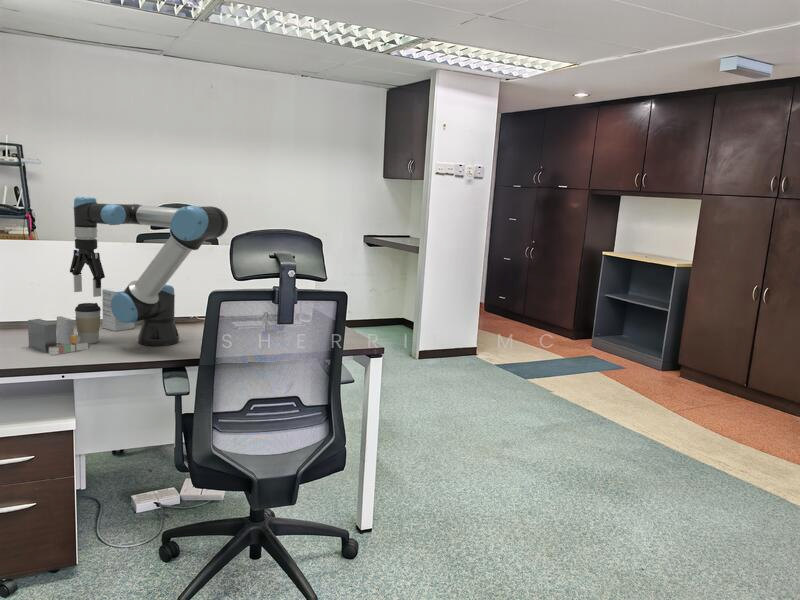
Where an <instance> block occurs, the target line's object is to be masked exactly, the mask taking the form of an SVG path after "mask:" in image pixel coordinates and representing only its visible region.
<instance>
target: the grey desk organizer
mask: <svg viewBox="0 0 800 600" xmlns="http://www.w3.org/2000/svg"><path fill="white" fill-rule="evenodd" d="M27 333H28V334H27V335H28V347H29V348H31V349H34V350H36V351H39V352H42V353H45V354H46V353H48V354H49V355H50V356H54V355H62V354H66V353H68V354H69V353H73V352H79V351H85V350H89V344H88V342H77V343H72V344H58V343H57V323H54V322H51V321H47V320H44V319H42V318H32V319H28V320H27Z"/></svg>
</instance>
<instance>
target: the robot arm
mask: <svg viewBox="0 0 800 600" xmlns="http://www.w3.org/2000/svg"><path fill="white" fill-rule="evenodd" d="M72 208H73V218H74V220H73V221H74V223H73V224H74V231H73V232H74V238H75V239H74V248H75V249H73V256H72V260H71V264H70V268H69V273H71V275H73V292H74V293H79V292H83V283H82V282H83V281H82V280H83V277H82V276H83V275H82V271H83V268H84V266H85V264H86V265H87V266H88V268H89V270H90V272H91V274H92V297H94V298H96V297H102V279H104V278H106V276H105V272H104V268H103V265H102V261H101V255H100V253H99V252H95V250H96V249H98V239H97V238H98V228H97V227H98V224H101V225H109V226H120V225H131V224H132V225H138V226H139V225H141V226H151V227H161V228H170V229H169V234H170V236H169V238H168V239H167V240H166V242H165V243H164V244H163V246H162V247H161V248H160V250H159V251H158V252H157V254H156V255H155V257H154V258H153V259H152V261H151V262H149V264H148V265H147V267H146V268H145V270H144V271H143V272H142V274H141V276H139V278H137V280H132V281H130V282H129V284H128V285H127V286H126V287H125V288H126V289H125V290H124V291H123V292H118V293H116V294H115V295H114V296H113V297H112V299H111V310H112V313H113V315H114V316H115V318H116V319H117V320H119V321H120V322H122V323H134V322H135V323H136V322H139V321H140V322H141V321H142V324H141V328H140V330H139V333H138V336H137V339H138V340H137V342H138V344H140V345H144V346H152V347H155V346H156V347H159V346H169V345H174V344H178V343H179V342H180V334H179V332H178V329H177V326H176V323H175V302H176V301H175V299H176V298H175V296H176V294H175V288H174V286H172V285H169V284H167V283H168V282H169V280H171V278H172V276H173V275H174V274H175V273H176V272H177V270H178V269H179V268H180V266H181V265H182V264H183V263H184V261H185V260H186V259H187V258H188V257H189V255H190V254H191V252H192V251H199V249H200V248H201V246H202V245H203V244H204V243H205V241H207V240H212V239H213V240H214V239H218V238H220V237H222V236H223V235H224V234H225V233H226V232H227V230H228V228H229V219H228V216H227V214H226V213H225V211H224V210H222V209H221V208H219V207H217V206H216V207H215V206H207V205H206V206H198V205H188V206H187V205H186V206H182V207H180V208H176V207H166V206H156V205H155V206H153V205H143V204H140V203H139V204H137V203H133V204H132V203H129V204H123V203H121V204H120V203H99V202H97V198H96V197H91V196H90V197H89V196H88V197H87V196H76V197H75V198H74V199H73V207H72Z"/></svg>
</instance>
